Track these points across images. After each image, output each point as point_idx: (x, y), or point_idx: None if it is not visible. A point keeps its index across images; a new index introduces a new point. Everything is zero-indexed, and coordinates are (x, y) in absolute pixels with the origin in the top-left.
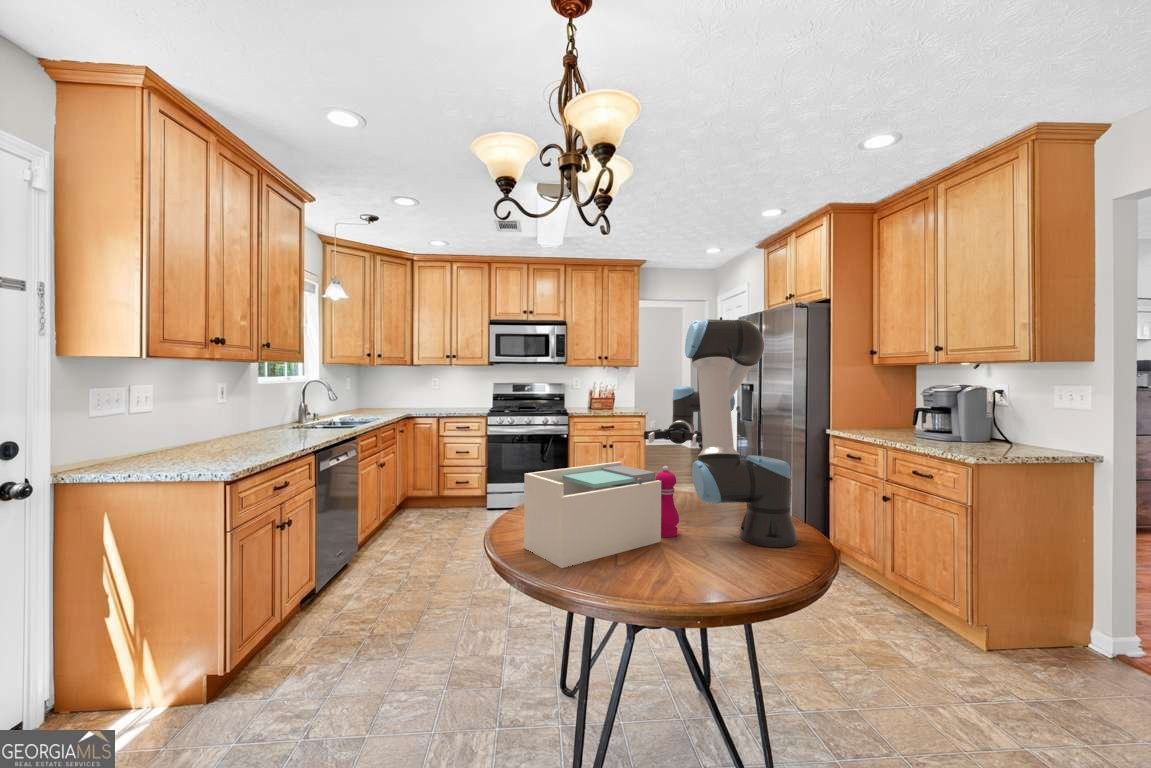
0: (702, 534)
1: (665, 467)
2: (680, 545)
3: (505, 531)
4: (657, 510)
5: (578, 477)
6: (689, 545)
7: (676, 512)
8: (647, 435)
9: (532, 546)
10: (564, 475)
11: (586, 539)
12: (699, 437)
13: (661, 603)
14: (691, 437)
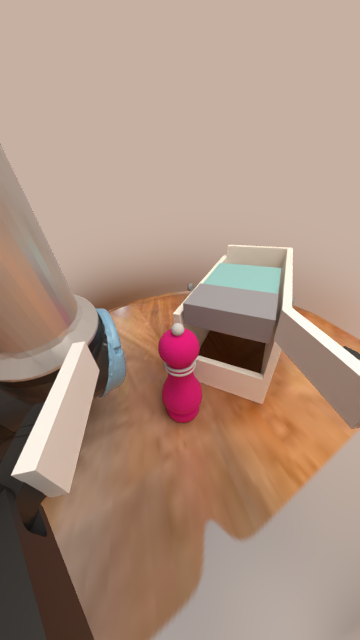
0: (131, 435)
1: (176, 323)
2: (155, 375)
3: (337, 329)
4: None
5: (257, 269)
6: (145, 380)
7: (164, 385)
8: (345, 349)
9: None
10: (279, 268)
11: None
12: (32, 408)
13: (148, 298)
14: (65, 606)
